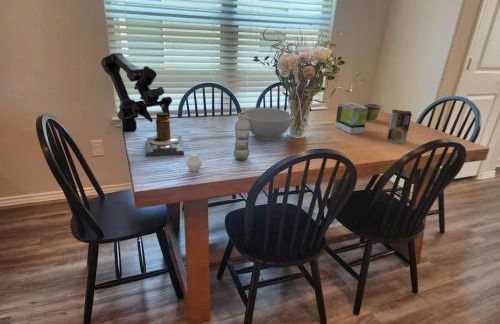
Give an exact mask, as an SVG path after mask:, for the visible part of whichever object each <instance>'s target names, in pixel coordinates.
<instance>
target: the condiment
mask: <svg viewBox="0 0 500 324" xmlns="http://www.w3.org/2000/svg"><path fill="white" fill-rule="evenodd" d="M170 121H171V120H170V118H169V116H168V113H165V112H163V111H162V112H157V113H156V120H155V122H156V123H155V124H156V126H155V127H156V128H155V129H156V136H157V137H156V138H155V139H153V140H152V141H156V142H166V143H167V142H168V141H169V140H171V139H172V138H173V137H172V136H170V135H171V125H170V124H171V122H170Z"/></svg>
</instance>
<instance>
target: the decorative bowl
mask: <svg viewBox="0 0 500 324" xmlns="http://www.w3.org/2000/svg"><path fill="white" fill-rule="evenodd" d="M289 112H290V111H287V110H284V109H279V108H272V107H257V108H256V107H255V108H249V109H248V108H247V109H246V110H243V111H242V112H241V113H247V121H248V122H249V124H250V132H249V133H251V134H253V135H254V138H257V139H259V140H261V141H275V140H277V139H278V138H279V137H280V136H282V135H283V134H285V133H286V132H287V131H288V130H289V128H290V127H291V126H292V124H293V122H294V119H295V115H294V116H293V117H292V118H291V119H290V115H289Z"/></svg>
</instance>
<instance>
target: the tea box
mask: <svg viewBox="0 0 500 324" xmlns="http://www.w3.org/2000/svg"><path fill="white" fill-rule="evenodd" d="M336 111H337V112H336V118H335V124H334V125H335V126H334V127H335V128H338V129H340V130H342V131H344V132H346V133H348V134H349V135H350V134H351V135H352V134H363V133H364V132H365V127H366V124H367V123H366V122H367V121H366V118H367V112H368V107H365V106H364V105H363V104H362V105H361V104H358V103H355V102H352V101H351V102H349V101H347V102H338V105H337V110H336Z"/></svg>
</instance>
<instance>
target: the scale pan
mask: <svg viewBox="0 0 500 324" xmlns="http://www.w3.org/2000/svg"><path fill="white" fill-rule="evenodd" d="M170 136H172V137H173V138H172V139H171V140H169V141H168V142H167V143H166V142H156V141H152V140H153V139H155V138H156V137H157V135H154V136H151V137H152V138H151V139H150V143H151V144H152V145H168V144H177V143H178V142H179V138H178V137H177V136H178V135H173V134H170Z"/></svg>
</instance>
